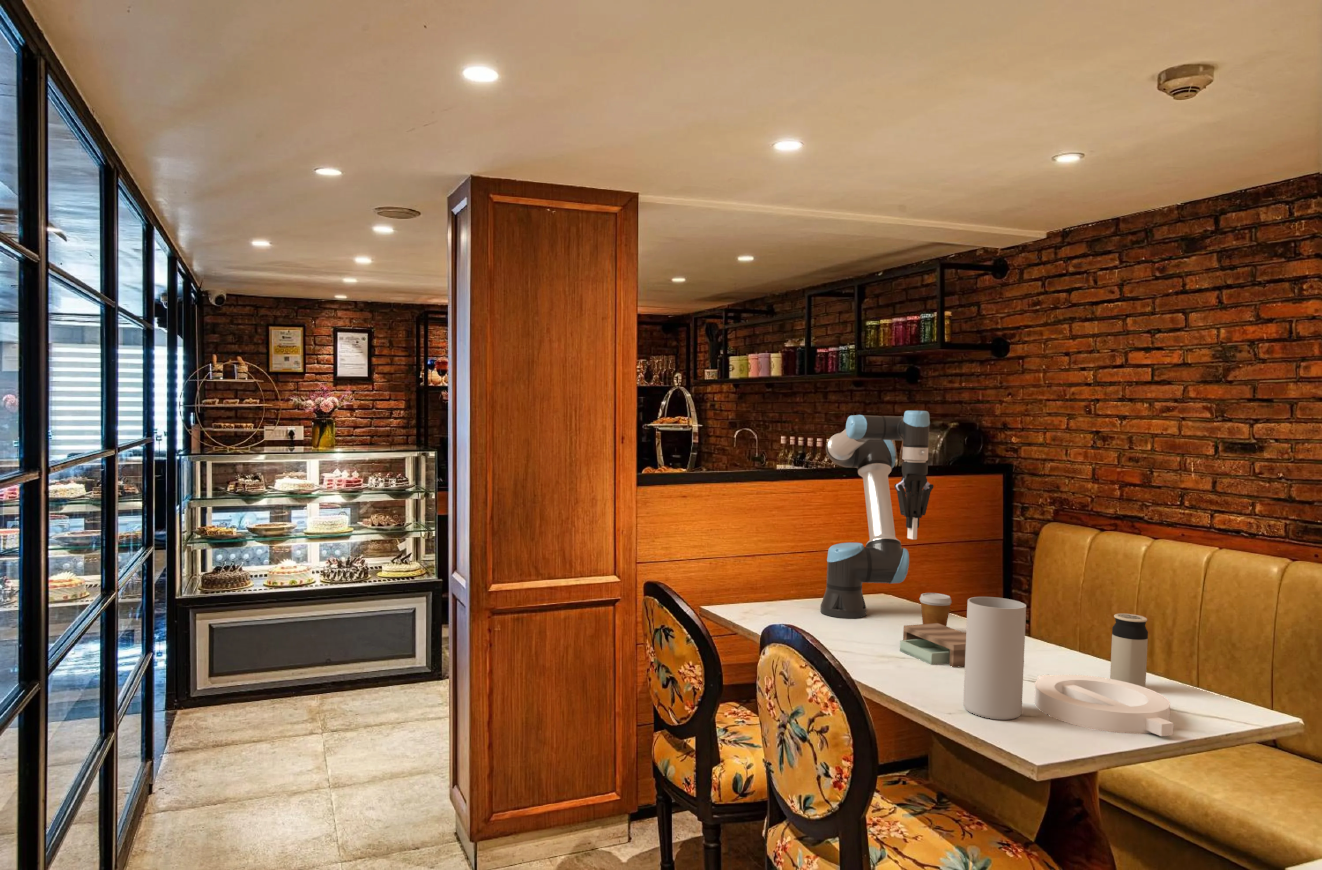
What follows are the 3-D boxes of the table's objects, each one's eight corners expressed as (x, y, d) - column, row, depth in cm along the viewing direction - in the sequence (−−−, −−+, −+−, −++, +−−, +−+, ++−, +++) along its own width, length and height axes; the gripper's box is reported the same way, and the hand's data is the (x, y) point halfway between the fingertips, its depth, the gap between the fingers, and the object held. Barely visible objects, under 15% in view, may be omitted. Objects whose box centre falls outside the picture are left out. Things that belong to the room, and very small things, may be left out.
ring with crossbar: (1174, 743, 190) (1175, 721, 190) (1031, 720, 202) (1031, 699, 202) (1163, 705, 216) (1164, 686, 216) (1036, 687, 228) (1037, 668, 227)
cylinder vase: (974, 698, 215) (979, 594, 215) (1028, 711, 207) (1033, 603, 207) (954, 711, 206) (959, 602, 205) (1010, 725, 198) (1015, 611, 197)
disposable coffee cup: (946, 631, 282) (948, 593, 281) (953, 639, 272) (955, 599, 272) (915, 630, 282) (916, 591, 282) (921, 637, 273) (922, 598, 273)
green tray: (899, 650, 257) (900, 640, 257) (934, 648, 261) (935, 637, 261) (931, 664, 244) (931, 653, 244) (967, 661, 248) (967, 650, 248)
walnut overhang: (902, 646, 262) (903, 625, 262) (936, 643, 267) (937, 623, 267) (953, 667, 242) (953, 645, 242) (989, 663, 246) (989, 642, 246)
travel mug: (1126, 693, 223) (1129, 621, 223) (1102, 683, 231) (1105, 613, 230) (1152, 691, 225) (1156, 619, 225) (1128, 682, 233) (1131, 612, 233)
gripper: (904, 462, 269) (901, 541, 269) (940, 462, 273) (937, 540, 274) (889, 460, 276) (886, 537, 276) (924, 460, 280) (922, 536, 281)
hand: (912, 538), depth 275 cm, fingers closed
